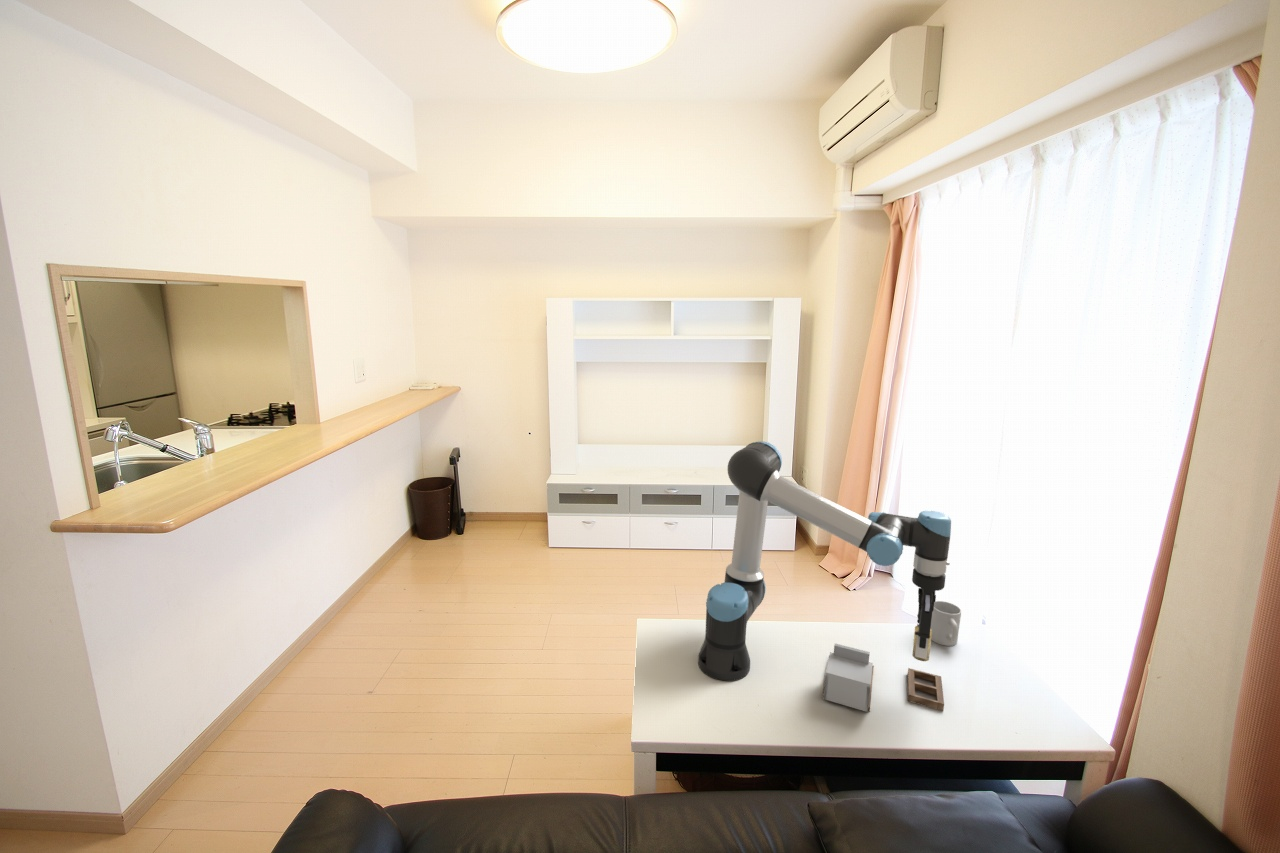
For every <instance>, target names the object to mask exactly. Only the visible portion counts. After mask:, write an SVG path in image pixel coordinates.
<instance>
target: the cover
mask: <svg viewBox="0 0 1280 853" xmlns="http://www.w3.org/2000/svg"><path fill="white" fill-rule="evenodd" d="M869 661H870V651H866V650H863V649H860V648H855V647H852V646H847V645H843V644H839V643H834V645H833V652H829V655H828V660H827V665H826V668H825V669H826V670H825V673H824V674H825V675H824V684H823V688H824V695H823V698H822V699H823V700H824V701H825V700H826V701H830V702H832V703H835V704H839V705H843V706H846V707H848V708H849V707H850V708H853V709H856V710H860V711H863V712H866V713H868V704H869V696H870V687H871V676H872V665H873V664H874V663H873V662H871V661H870V662H869Z"/></svg>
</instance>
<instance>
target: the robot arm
mask: <svg viewBox="0 0 1280 853" xmlns="http://www.w3.org/2000/svg"><path fill="white" fill-rule="evenodd" d="M782 458H783V457H782V455H781V453H780V451H779V450H778V449H777V447H776V446H775V445H774V444H772V443H770V442H767V441H762V440H761V441H759V440H758V441H755V442H751V443H749V444H747V445H746V446H744V447H742V448H741V449H740V450H737V451H736V452H734V453H733V454H732V456H731V457H730V458H729V460H728V462H727V475H728V478H729V480H730V482H731V483H732V484H733V485H734V487H735V488H736V489H737V491H738V492H739V494H738V501H737V502H738V504H737V512H736V521H735V527H734V528H735V529H734V536H733V547H732V548H733V549H732V557H731V563H729V564H728V565H727V566H726V567H725V576H724V582H721V584H719V583H717V584H715V585H714V586H712V587H711V588H710V589H709V591H708V593H707V598H706V601H705V604H706V605H705V606H706V608H705V609H706V612H705V635H704V640H703V643H702V644H701V647H700V649H699V652H698V656H697V657H698V661H697V664H698V667H699V669H700V671H701V672H703V673H704V674H705V675H706V676H708V677H710V678H712V679H715V680H719V681H725V682H733V681H738V680H741V679H743V678H745V677H747V675H748V674H749V672H750V669H751V658H750V655H749V651H748V647H747V644H746V640H747V639H746V638H747V637H746V636H747V625H748V624H747V623H748V621H749V620H750V618H751V617H752V616H753V614H754V612H755V611H756V610H757V609H758V607H759V606H760V605H761V604H762V603H763V600H764V598H765V596H766V590H767V588H766V583H765V580H764V579H765V578H764V577H765V573H764V571H763V570H762V569H761V559H762V553H763V546H764V545H763V544H764V536H765V528H766V520H767V512H768V505H769V503H771V504H772V505H775V506H777V507H779V508H780V509H782V510H784V511H787V512H788V513H790V514H792V515H794V516H796V517H798V518H800V519H802V520H804V521H806V522H808V523H810V524H811V525H814V526H816V527H817V528H819V529H821V530H823V531H826V532H827V533H829V534H831V535H834V536H835V537H837V538H838V539H841V540H843V541H845V542H846V543H849V544H850V545H853V546H854V547H856V548H858V549H860V550H862V551H864V552H865V553H867V557H868V558H869V559H870V560H871V562H873V563H874V564H877V566H883V567H887V566H888V567H889V566H892V565H894V564H896V563H897V562H899V560H900V558H901V556H902V554H903V550H904V546H905V547H912V548H913V547H914V548H915V550H914V557H913V563H912V564H913V569H912V578H911V581H912V583H913V584H914V585H915V586H916V587H918V589H917V591H918V592H917V595H918V599H917V602H918V611H917V615H916V616H917V624H916V626H918V625H919V630H918V632H915V631H914V633H915V635H917V641H916V650H915V657H919V658H923V659H927V650H928V641H929V638H930V628H931V619H932V612H933V610H934V602H936V600H937V599H936V597H937V595H936V591H942V590H943V589H944V588H945V585H946V573H947V566H950V561H948V557H949V549H950V544H951V543H950V542H951V534H952V533H951V532H952V531H951V530H952V519H951V518H950V517H949V515H947V514H945V513H944V512H941V511H935V510H923V511H920V512H919V513H918V516H917V517H911V516H904V515H897V514H892V513H886V512H884V511H883V512H878V511H872V512H870V513H869V514H868V518H866V517H865V516H863V515H861V514H859V513H857V512H854V511H853V510H851V509H848V508H847V507H844V506H843V505H840V504H838V503H836V502H834V501H833V500H830V499H828V498H826V497H824V496H822V495H820V494H818V493H816V492H815V491H813V490H810V489H808V488H806V487H804V486H802V485H800V484H797V483H795V481H794V482H793V481H791V480H790V479H787V478H785V477H784V476H782V475H780V473H779V472H780V471H781V468H782V464H783V460H782Z"/></svg>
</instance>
